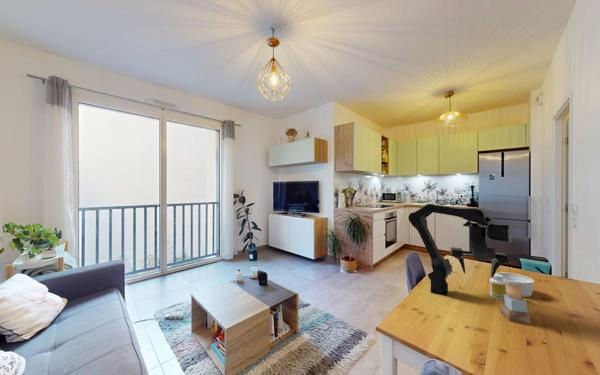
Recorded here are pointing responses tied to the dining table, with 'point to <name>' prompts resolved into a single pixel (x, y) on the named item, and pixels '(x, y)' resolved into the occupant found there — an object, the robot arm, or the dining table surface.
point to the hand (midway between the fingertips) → (477, 275)
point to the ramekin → (519, 282)
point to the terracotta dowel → (514, 292)
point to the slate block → (515, 304)
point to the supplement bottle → (497, 287)
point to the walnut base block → (515, 315)
